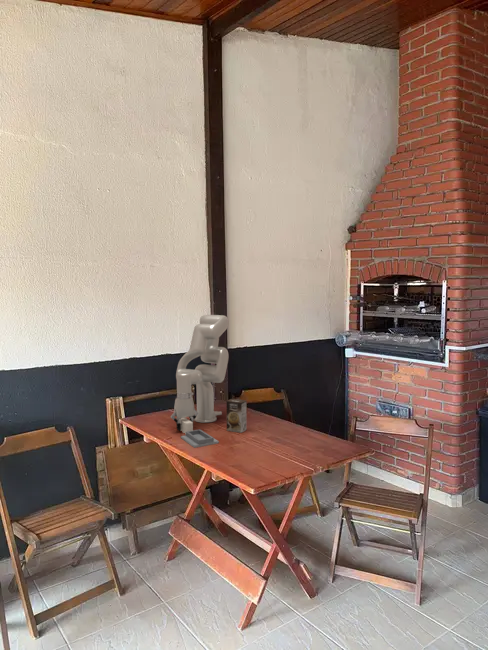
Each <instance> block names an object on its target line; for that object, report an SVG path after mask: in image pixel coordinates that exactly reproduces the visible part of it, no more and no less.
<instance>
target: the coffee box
mask: <svg viewBox="0 0 488 650" xmlns="http://www.w3.org/2000/svg"><path fill="white" fill-rule="evenodd" d="M246 430H247V400H244V399H240V398H239V399H238V398H237V399H236V398H230V399H228V400H226V431H228V432H234V433H239V434H240V433H243V432H245V431H246Z"/></svg>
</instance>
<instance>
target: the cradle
mask: <svg viewBox="0 0 488 650" xmlns="http://www.w3.org/2000/svg"><path fill="white" fill-rule="evenodd" d="M180 439H182V440H183V441H184V442H185V443H187V444H189V445H190V446H191V447H193V448H195V449H196V448H201V447H207V446H211V445H216V444H219V443H220V441H219V440H218V439H216V438H214V437H213V436H211V435H210V434H208V433H207V432H205V431H204V430H202V429H193V431H187V432H186V434H185V435H181V436H180Z"/></svg>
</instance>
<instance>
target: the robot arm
mask: <svg viewBox="0 0 488 650" xmlns="http://www.w3.org/2000/svg"><path fill="white" fill-rule="evenodd" d="M229 322H230V320H229V318H228V317H227V316H226V315H223V314H221V315H219V314H204V315H202V316H201V317H200V318H199V324H195V326H194V328H193V331H192V336H191V341H190V344H189V349H188V350H187V351H186V352H185V353H184V354H183V356H182V357H181V358H180V359H179V361H178V362H177V363H178V364H177V368H176V373H175V379H176V397H175V400H174V407H173V408H174V410H173V413H172V414H171V415H170V418H171V419H172V420H173V421H174V422H175V424H176V429H177V430H178V431H179V432H181V431H180V430H181V424H180V420H181V418H189V420H190V421H191V422H193V423H194V422H197V423H201V424H202V423H203V424H204V423H205V424H206V423H213V422H216V421H217V418H218V417H217V416H222V415H223V414H222V413H223V412H222V411H218V410H216V411H215V410H214V409H215V407H214V403H215V402H214V400H215V398H214V397H215V396H214V386H213V385H212V383H215V384H219V383H220V384H221V383H223V382H224V380H225V377H226V374H227V373H226V372H227V368H228V363H229V351H228V349H227V348H226V347H224V346H219V341H220V337H221V336H222V335H223V333H225V331H226V330H227V329H228V327H229V324H230V323H229ZM198 357H200V360H201V361H202V362H204V363H208V364H198V365H197V366H196V367H195V369H191V368H187V366H188V365H189V363H190V362H191V361H192V360H195V359H197V358H198ZM213 364H214V365H213ZM215 364H216V365H215ZM192 385H195V386H196V409H195V403H194V398H193V396H194V395H195V394H194V392H193V391H192Z"/></svg>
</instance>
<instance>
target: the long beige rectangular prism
mask: <svg viewBox="0 0 488 650" xmlns="http://www.w3.org/2000/svg"><path fill="white" fill-rule="evenodd" d="M180 424H181V430H180V431H179V432H181V431H182V433H183V434H184V433H185V435H186V432H187V431H193V430H194V421H193V422H191V421H190V419H188V417H185V418H181V420H180Z"/></svg>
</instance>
